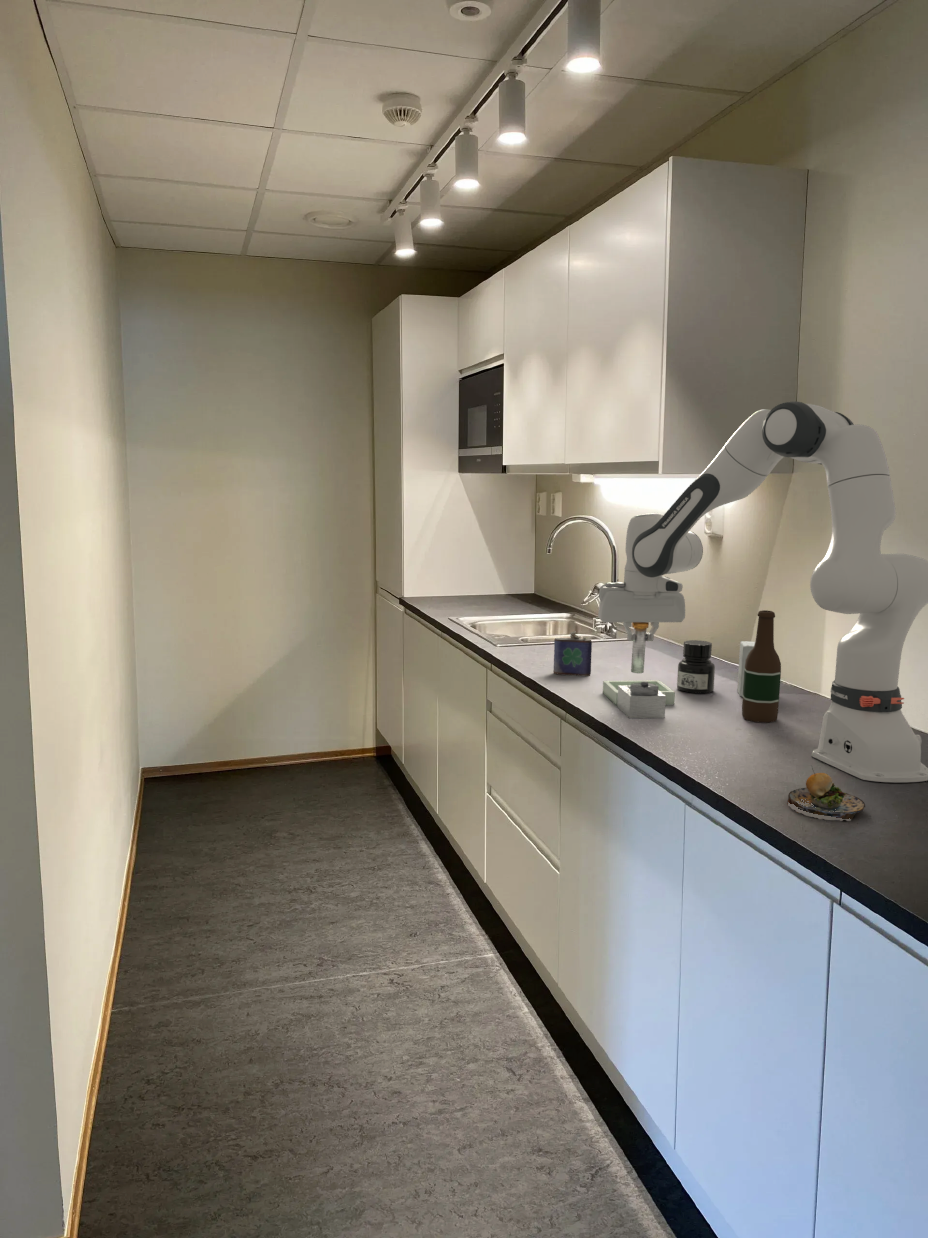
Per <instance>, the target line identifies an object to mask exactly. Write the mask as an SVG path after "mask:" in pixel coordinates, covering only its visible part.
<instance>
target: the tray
mask: <svg viewBox="0 0 928 1238" xmlns="http://www.w3.org/2000/svg"><path fill="white" fill-rule="evenodd" d="M641 682H648V683H650V684H655V685H657V686H658V690H659V691H660V692H662V693H663V694H664V695H665V696H666V702H665V706H667V705H669V706H670V705H675V701H676V700H675V698H676V696H675V694H676V691H674V690H673V689H672V688H670V687H669V686H667V685H666V684H664V682H662V681H661V680H659V679H658V680H651V679H650V680H647V679H646V680H603V681H602V694H603V695H604V696H605V697H606V698H607V699H609V700H610V702H612V704H614V706H617V701H618V686H631V684H634V683H641Z"/></svg>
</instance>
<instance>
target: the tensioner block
mask: <svg viewBox="0 0 928 1238" xmlns="http://www.w3.org/2000/svg"><path fill="white" fill-rule="evenodd" d="M665 702H666V696H665V695H664V694H663V693H662V692H660V691H659V690H658V686H657V685H655V684H650V683H648V682H641V683H634V684H631V686H618V701H617V705H616V706H617V707H616V708H618V709H619V710H620V711H621V712H622V713H623V714H624V715H625V716H626V717H627V718H628V717H629V718H628V719H666V705H665Z"/></svg>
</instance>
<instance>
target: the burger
mask: <svg viewBox="0 0 928 1238" xmlns="http://www.w3.org/2000/svg"><path fill="white" fill-rule="evenodd" d="M810 766H811V769H812V772H813V773H812V774H811V775H810V776H808V777H807V779H806V781H805V787H802V788H797V789H794V790H791V791H790V792H789V793H788V797H787V798H788V799H787V801H788V802H789V803H790V804H794V805H795V806H796V807H798V809H800V810H803V811H806V812H809V813H813V814H818V815H824V816H831V817H836V818H842V819H849V818H850V819H852V820H853V819H854V817H855V814H857V813H858V814H859V813H861V812H863V811H864V810H865V808H866V804H865V802H864V800H863V799H860V797H857V796H855V795H852V794H849V793H847V792H844V791H842V790H841V788H840V787H839V786H836V785H835V782H833V778H832V777H831V776H830V775H829V774H827V773H825V772H817V773H815V770H814V768H813V766H812V765H810ZM801 799H803V800H804V802H803V800H802V801H801ZM805 799H806V800H805ZM796 801H799V803H800V802H801V803H802V802H803V803H804V804H805V802H806V803H809V804H806V805H804V806H803V805H801V804H798V803H797V802H796ZM807 801H809V802H807ZM811 803H812V804H813V805H814V806H813V805H811ZM806 806H808V807H806ZM812 806H813V807H812ZM815 807H816V808H815ZM835 809H836V810H835ZM829 811H830V812H829ZM833 811H834V812H833ZM835 811H840V812H835ZM843 811H844V812H843Z"/></svg>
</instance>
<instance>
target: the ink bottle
mask: <svg viewBox="0 0 928 1238" xmlns="http://www.w3.org/2000/svg"><path fill="white" fill-rule="evenodd" d="M712 647H713V643H712V642H711V641H706V640H696V639H694V640H693V639H692V640H684V641H683V650H682V651H683V652H682V654H683V655H682V656H683V658H682V660H680V661H679V662H678V665H677V676H676V677H677V678H676V680H677V681H676V688H677V690H679V691H681V692H684V693H689V694H690V693H691V694H708V693H711V692H713V691H714V690H715V689H714V688H715V674H716V672H715V671H716V666H715V664H714V662H712V660H711V658H712V651H713V650H712Z"/></svg>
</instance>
